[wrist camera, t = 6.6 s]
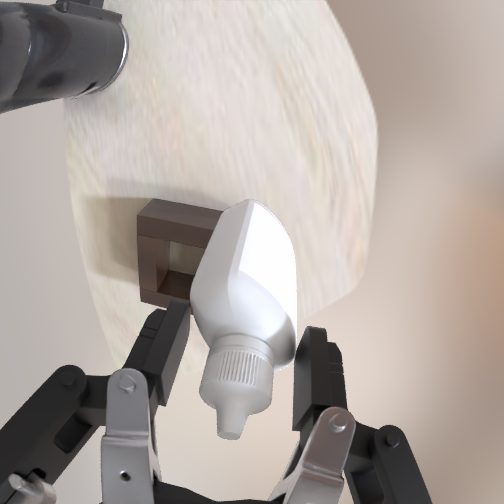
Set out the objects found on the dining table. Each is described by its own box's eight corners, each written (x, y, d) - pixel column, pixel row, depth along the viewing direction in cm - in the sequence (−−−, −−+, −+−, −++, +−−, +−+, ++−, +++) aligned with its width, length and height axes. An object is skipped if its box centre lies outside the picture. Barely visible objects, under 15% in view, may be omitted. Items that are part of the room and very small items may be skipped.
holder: (153, 198, 32) (136, 215, 28) (256, 218, 32) (251, 238, 28) (153, 279, 38) (140, 301, 34) (239, 299, 38) (234, 324, 34)
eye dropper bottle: (299, 197, 16) (314, 396, 6) (293, 279, 19) (291, 464, 9) (221, 195, 17) (133, 377, 7) (226, 276, 20) (179, 452, 9)
